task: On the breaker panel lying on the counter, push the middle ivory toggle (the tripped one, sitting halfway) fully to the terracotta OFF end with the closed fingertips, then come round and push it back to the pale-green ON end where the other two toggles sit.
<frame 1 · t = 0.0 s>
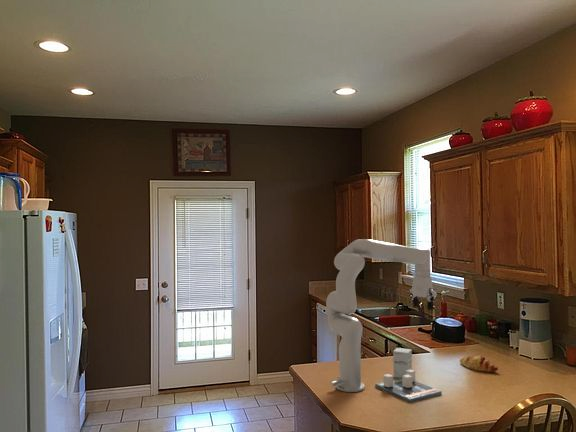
hand: (423, 308, 235), 31 cm above the counter, fingers open, 9 cm apart
breaker a: (388, 380, 209), point 4 cm above the counter, slide at 5.0 cm
breaker c: (410, 375, 215), point 4 cm above the counter, slide at 5.0 cm
panel: (407, 390, 208), on the counter
croissant: (478, 369, 238), on the counter
breaker b: (407, 381, 208), point 4 cm above the counter, slide at 0.0 cm
supplement box: (402, 376, 227), on the counter
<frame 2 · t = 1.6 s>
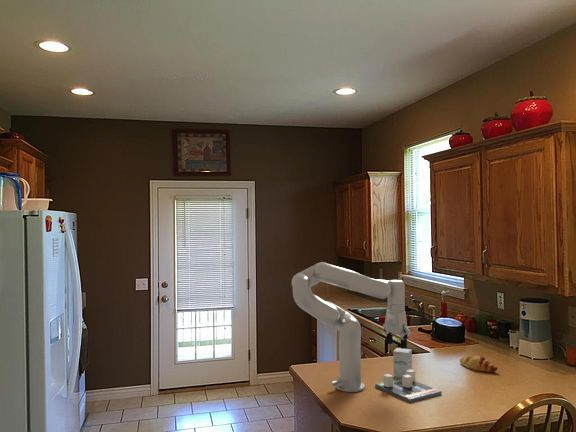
hand: (396, 346, 214), 18 cm above the counter, fingers open, 8 cm apart
nothing on the counter moved.
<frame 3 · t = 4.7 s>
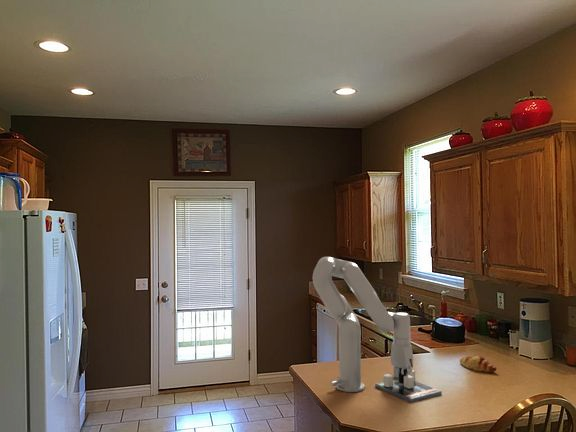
hand: (402, 382, 210), 3 cm above the counter, fingers closed
breaker b: (408, 381, 207), point 4 cm above the counter, slide at -0.9 cm, touching gripper
everything else where it was.
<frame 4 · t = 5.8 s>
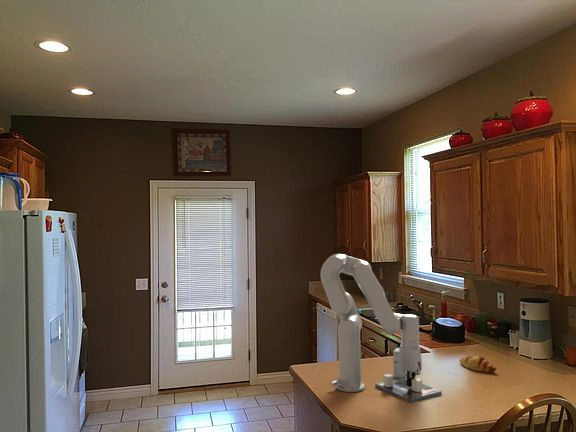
hand: (410, 385, 206), 3 cm above the counter, fingers closed
breaker b: (416, 385, 202), point 4 cm above the counter, slide at -5.8 cm, touching gripper
everything else where it was.
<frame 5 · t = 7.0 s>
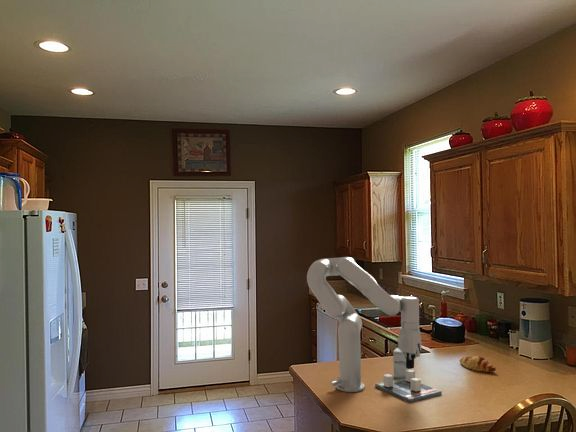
hand: (410, 367, 206), 11 cm above the counter, fingers closed
breaker b: (415, 384, 203), point 4 cm above the counter, slide at -5.1 cm
everything else where it was.
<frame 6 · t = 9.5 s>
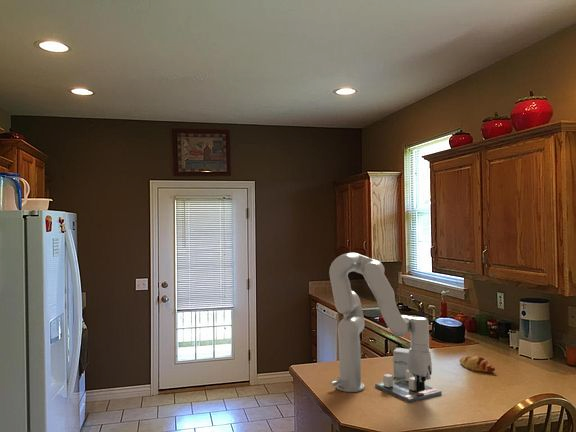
hand: (420, 390, 201), 3 cm above the counter, fingers closed
breaker b: (413, 383, 204), point 4 cm above the counter, slide at -3.9 cm, touching gripper
everything else where it was.
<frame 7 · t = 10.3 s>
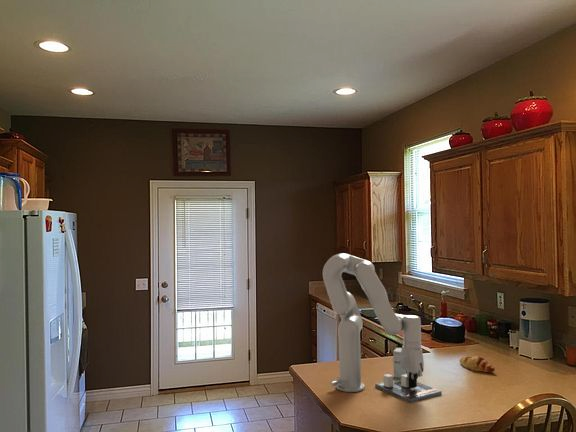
hand: (412, 387, 205), 3 cm above the counter, fingers closed
breaker b: (406, 380, 208), point 4 cm above the counter, slide at 0.7 cm, touching gripper
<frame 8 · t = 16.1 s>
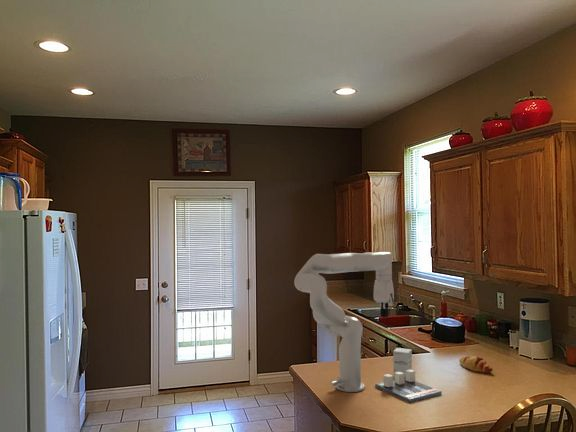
hand: (384, 316, 225), 29 cm above the counter, fingers closed
breaker b: (399, 378, 212), point 4 cm above the counter, slide at 5.1 cm
at the end: breaker b slide at 5.1 cm; breaker a slide at 5.0 cm; breaker c slide at 5.0 cm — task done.
